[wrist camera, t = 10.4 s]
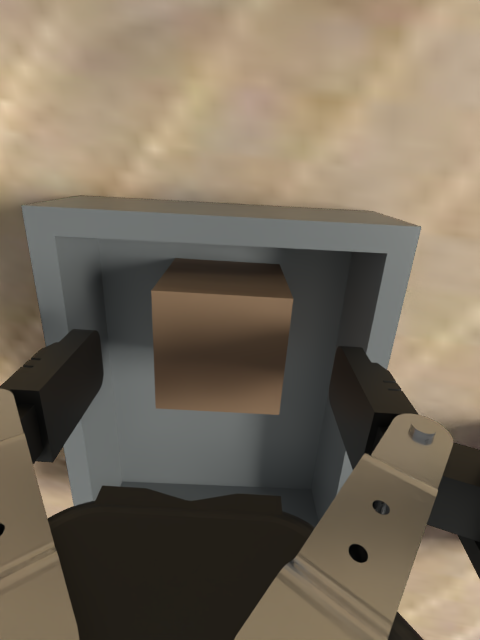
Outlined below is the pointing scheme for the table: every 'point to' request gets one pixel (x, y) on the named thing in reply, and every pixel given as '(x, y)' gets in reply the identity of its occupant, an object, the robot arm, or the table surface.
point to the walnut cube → (220, 336)
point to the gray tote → (137, 338)
